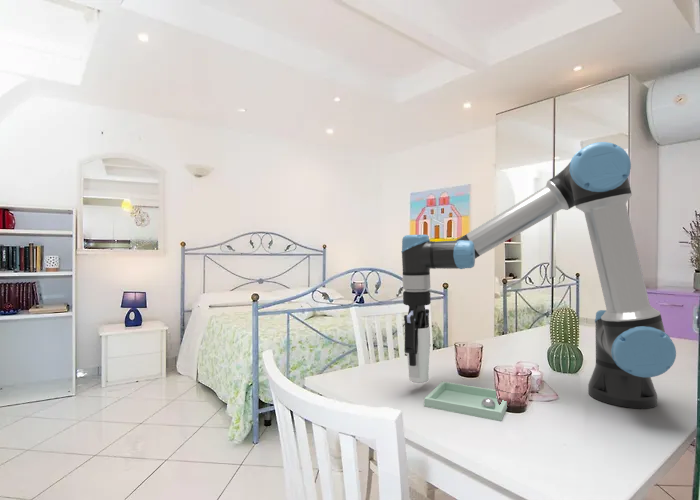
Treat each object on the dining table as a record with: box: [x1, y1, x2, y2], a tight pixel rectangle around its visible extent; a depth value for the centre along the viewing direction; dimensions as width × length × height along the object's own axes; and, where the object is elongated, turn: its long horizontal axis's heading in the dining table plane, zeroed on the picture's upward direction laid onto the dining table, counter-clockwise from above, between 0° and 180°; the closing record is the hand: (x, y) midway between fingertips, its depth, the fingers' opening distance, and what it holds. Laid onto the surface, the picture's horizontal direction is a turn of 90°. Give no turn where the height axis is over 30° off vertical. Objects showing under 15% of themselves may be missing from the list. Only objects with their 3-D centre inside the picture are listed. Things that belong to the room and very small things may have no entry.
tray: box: [423, 380, 508, 422], centre depth 103 cm, size 18×15×2 cm
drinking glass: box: [406, 325, 431, 384], centre depth 113 cm, size 7×7×15 cm
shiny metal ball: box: [481, 398, 495, 410], centre depth 97 cm, size 3×3×3 cm
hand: (418, 373), depth 113 cm, fingers closed on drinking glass, 6 cm apart
